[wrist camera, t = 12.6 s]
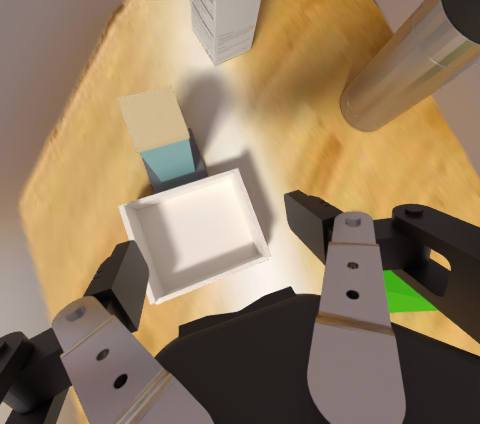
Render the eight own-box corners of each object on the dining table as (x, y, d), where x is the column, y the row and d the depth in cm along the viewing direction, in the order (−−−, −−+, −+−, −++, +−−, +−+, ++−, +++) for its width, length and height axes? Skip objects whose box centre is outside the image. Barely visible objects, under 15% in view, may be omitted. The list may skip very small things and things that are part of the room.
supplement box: (229, 15, 38) (239, -93, 26) (251, 51, 38) (272, -42, 26) (191, 30, 37) (181, -77, 25) (213, 67, 37) (215, -22, 24)
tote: (232, 176, 35) (236, 163, 29) (262, 257, 34) (272, 260, 28) (132, 208, 32) (116, 201, 27) (161, 298, 31) (151, 309, 26)
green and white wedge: (460, 268, 40) (347, 233, 34) (500, 283, 35) (374, 245, 29) (433, 323, 42) (320, 299, 35) (467, 346, 36) (341, 322, 30)
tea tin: (184, 140, 34) (171, 85, 22) (196, 172, 33) (188, 133, 22) (149, 150, 33) (116, 98, 21) (161, 182, 32) (134, 148, 21)
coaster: (190, 129, 35) (190, 128, 34) (207, 177, 34) (207, 176, 33) (138, 144, 33) (137, 142, 33) (155, 194, 33) (154, 193, 32)
